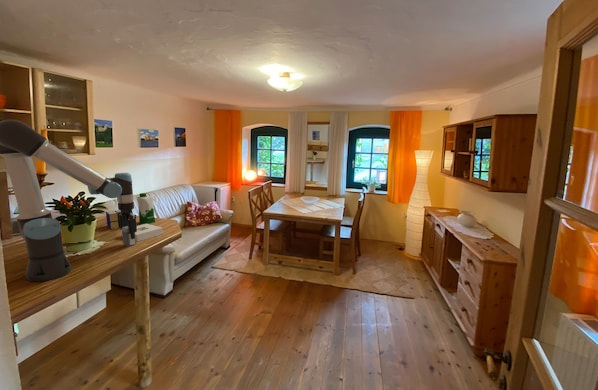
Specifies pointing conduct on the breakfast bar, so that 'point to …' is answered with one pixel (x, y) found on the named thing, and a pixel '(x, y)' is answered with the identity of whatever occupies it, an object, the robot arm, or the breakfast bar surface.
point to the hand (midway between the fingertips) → (129, 243)
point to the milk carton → (145, 209)
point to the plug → (126, 236)
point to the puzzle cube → (113, 219)
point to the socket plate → (147, 231)
